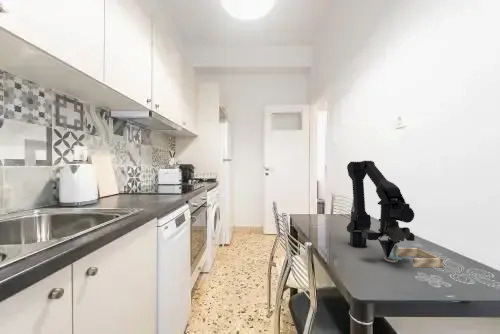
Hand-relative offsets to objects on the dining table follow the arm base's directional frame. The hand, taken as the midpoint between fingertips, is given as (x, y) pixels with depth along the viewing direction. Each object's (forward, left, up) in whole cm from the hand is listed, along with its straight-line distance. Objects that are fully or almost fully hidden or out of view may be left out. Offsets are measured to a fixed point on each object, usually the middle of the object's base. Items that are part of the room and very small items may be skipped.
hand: (387, 256), depth 111 cm
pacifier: (+2, 0, -2) cm, 3 cm away
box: (+12, 0, -2) cm, 12 cm away
